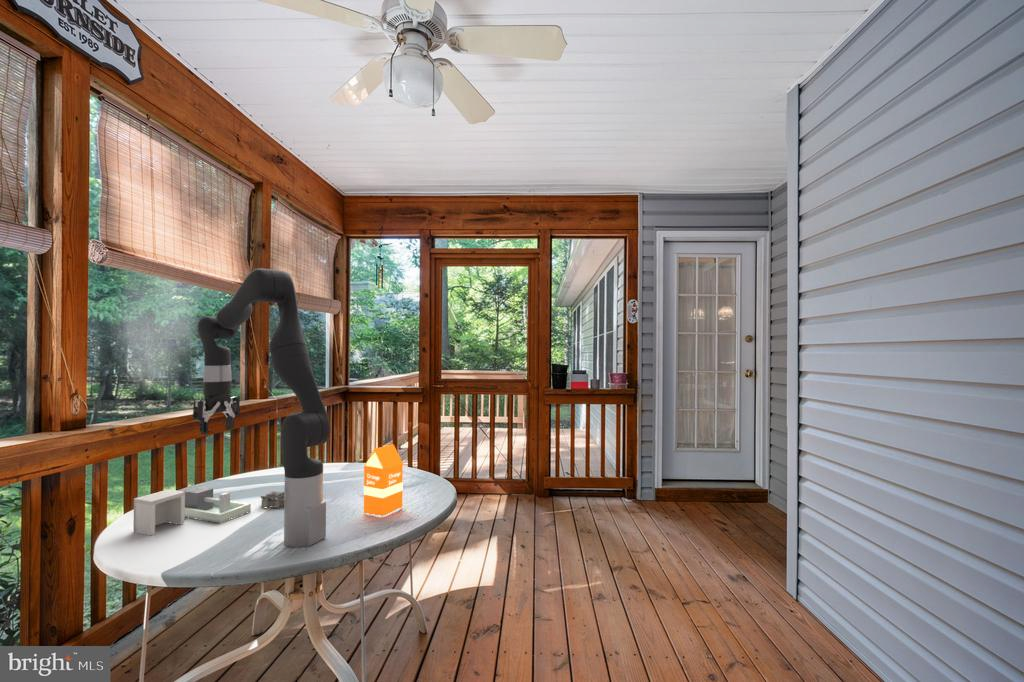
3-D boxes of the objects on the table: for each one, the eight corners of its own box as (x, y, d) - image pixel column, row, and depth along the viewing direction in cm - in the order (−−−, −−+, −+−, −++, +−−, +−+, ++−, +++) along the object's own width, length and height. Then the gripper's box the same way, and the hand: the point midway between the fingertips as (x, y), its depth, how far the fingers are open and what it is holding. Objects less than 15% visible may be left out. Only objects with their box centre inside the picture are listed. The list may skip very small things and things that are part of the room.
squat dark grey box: (234, 511, 142) (234, 491, 142) (219, 517, 137) (219, 496, 137) (199, 505, 147) (199, 486, 147) (183, 511, 142) (183, 491, 142)
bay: (184, 523, 133) (184, 491, 134) (150, 535, 125) (151, 501, 125) (167, 520, 136) (167, 489, 136) (133, 532, 127) (133, 498, 127)
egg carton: (258, 509, 146) (258, 496, 146) (267, 501, 154) (267, 489, 154) (294, 507, 148) (294, 494, 148) (301, 500, 155) (301, 487, 155)
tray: (250, 512, 143) (250, 503, 143) (220, 523, 134) (220, 514, 134) (203, 504, 150) (203, 496, 150) (171, 515, 140) (171, 506, 140)
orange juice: (363, 514, 141) (363, 447, 141) (384, 505, 149) (384, 442, 149) (382, 518, 138) (383, 450, 138) (403, 509, 145) (403, 445, 146)
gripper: (205, 381, 139) (204, 436, 139) (246, 378, 153) (245, 428, 152) (186, 381, 142) (186, 435, 141) (228, 378, 155) (228, 427, 155)
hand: (217, 431), depth 147 cm, fingers open, 8 cm apart
